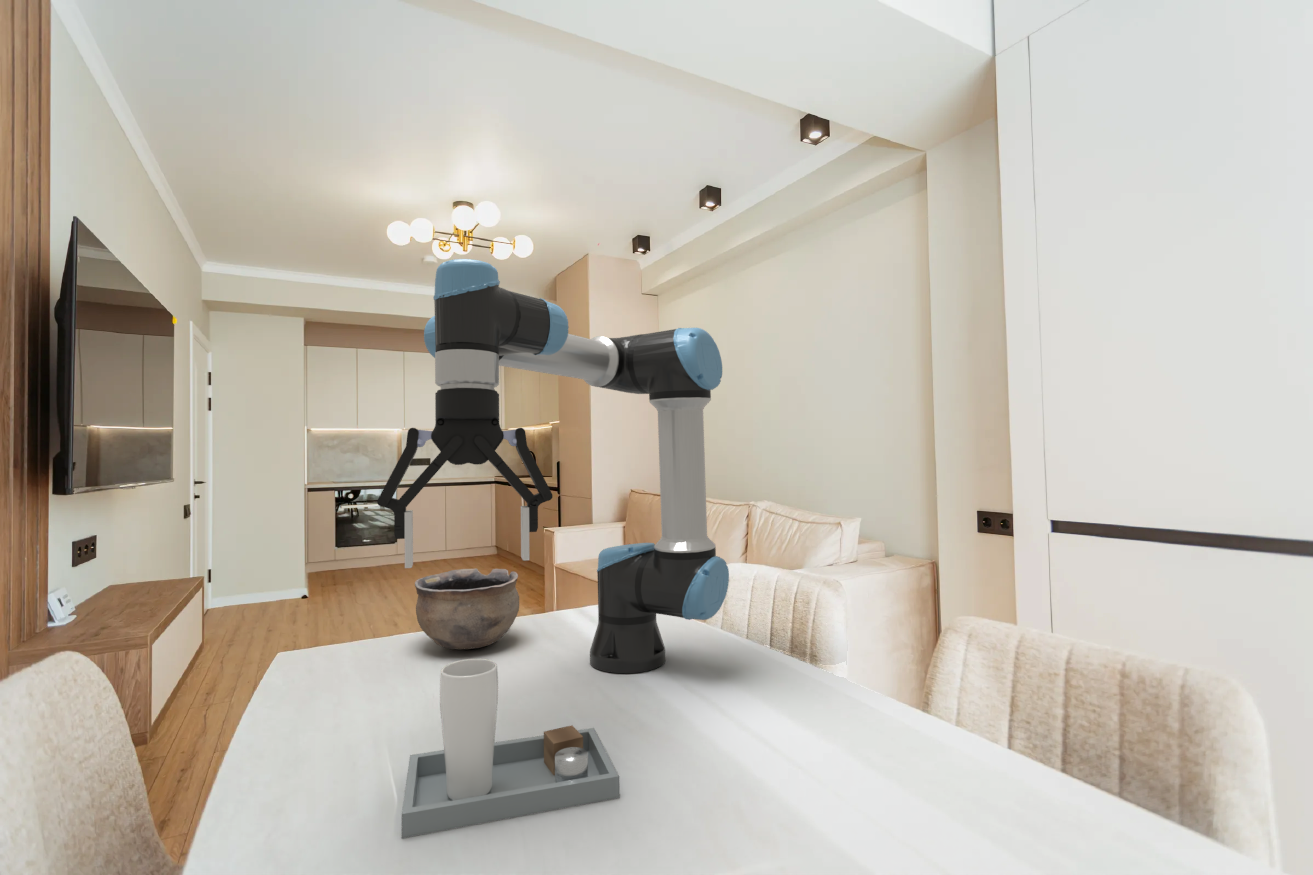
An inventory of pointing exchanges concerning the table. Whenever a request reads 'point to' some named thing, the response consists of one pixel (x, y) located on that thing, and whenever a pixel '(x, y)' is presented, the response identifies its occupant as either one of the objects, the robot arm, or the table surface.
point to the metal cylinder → (571, 764)
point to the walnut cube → (559, 743)
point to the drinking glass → (469, 725)
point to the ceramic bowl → (467, 607)
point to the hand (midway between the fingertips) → (468, 562)
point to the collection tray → (504, 786)
